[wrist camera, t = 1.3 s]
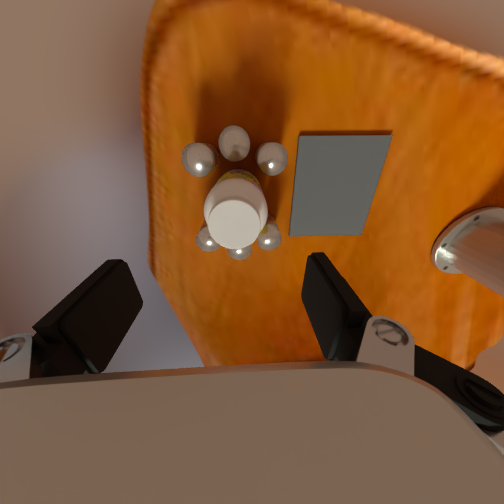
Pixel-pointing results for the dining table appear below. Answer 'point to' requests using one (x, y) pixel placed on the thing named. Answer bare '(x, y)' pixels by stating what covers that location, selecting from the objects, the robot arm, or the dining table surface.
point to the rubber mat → (335, 183)
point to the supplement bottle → (236, 209)
